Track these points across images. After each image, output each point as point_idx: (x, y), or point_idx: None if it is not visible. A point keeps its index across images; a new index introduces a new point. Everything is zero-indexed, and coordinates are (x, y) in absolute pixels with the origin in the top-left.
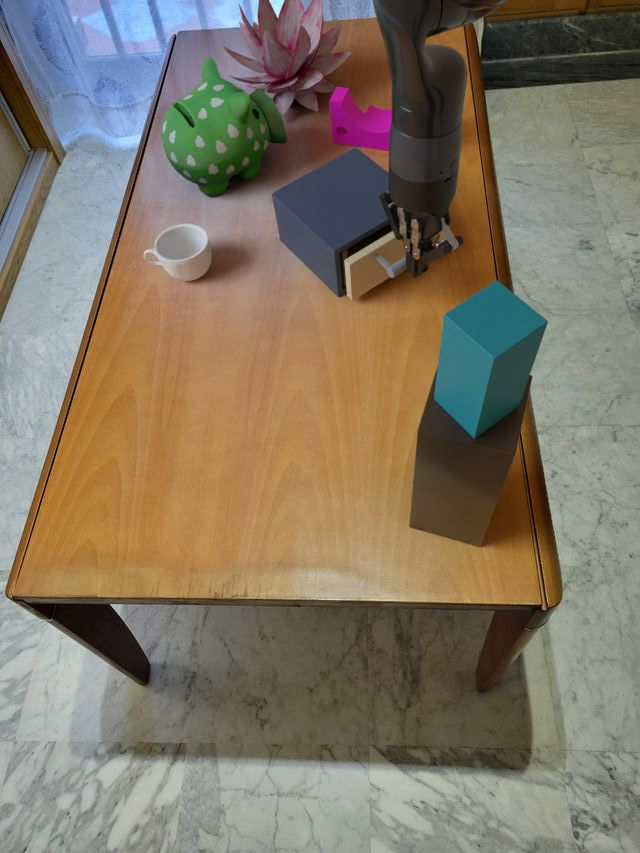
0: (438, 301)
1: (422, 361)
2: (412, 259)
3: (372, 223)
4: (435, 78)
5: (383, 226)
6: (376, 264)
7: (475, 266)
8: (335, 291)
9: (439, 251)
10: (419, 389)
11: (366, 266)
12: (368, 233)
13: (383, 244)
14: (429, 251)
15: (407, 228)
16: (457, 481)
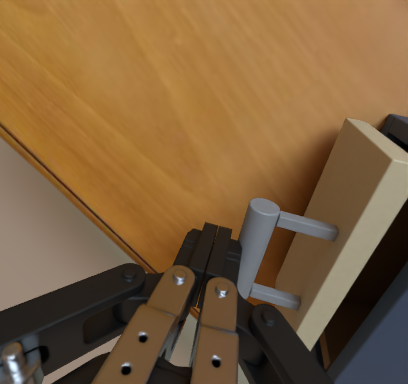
0: (202, 212)
1: (133, 88)
2: (201, 261)
3: (403, 320)
4: None
5: (366, 318)
6: (329, 217)
7: None
8: (405, 118)
9: (7, 328)
10: (90, 26)
11: (346, 196)
12: (397, 287)
13: (330, 271)
14: (100, 308)
15: (191, 379)
16: None
